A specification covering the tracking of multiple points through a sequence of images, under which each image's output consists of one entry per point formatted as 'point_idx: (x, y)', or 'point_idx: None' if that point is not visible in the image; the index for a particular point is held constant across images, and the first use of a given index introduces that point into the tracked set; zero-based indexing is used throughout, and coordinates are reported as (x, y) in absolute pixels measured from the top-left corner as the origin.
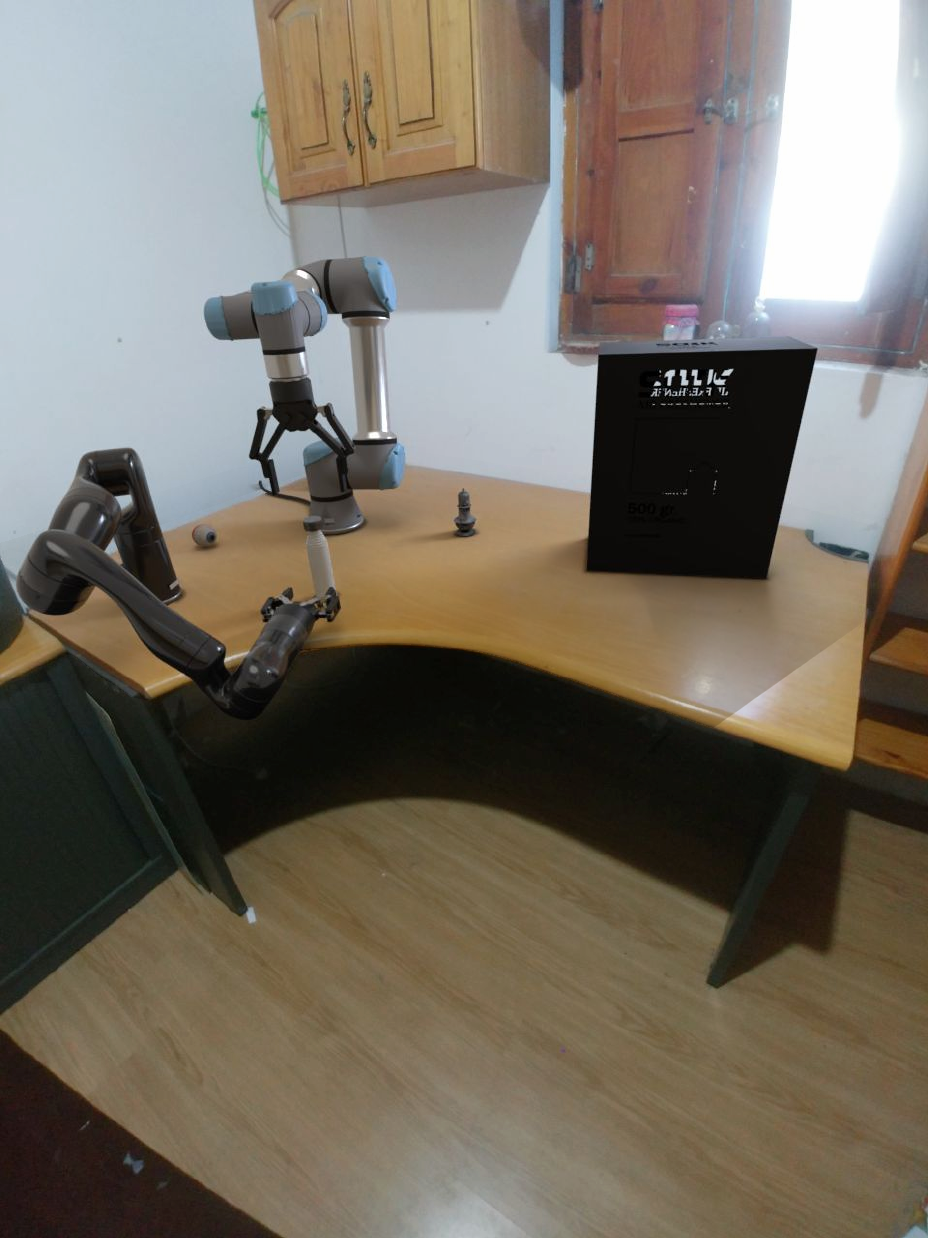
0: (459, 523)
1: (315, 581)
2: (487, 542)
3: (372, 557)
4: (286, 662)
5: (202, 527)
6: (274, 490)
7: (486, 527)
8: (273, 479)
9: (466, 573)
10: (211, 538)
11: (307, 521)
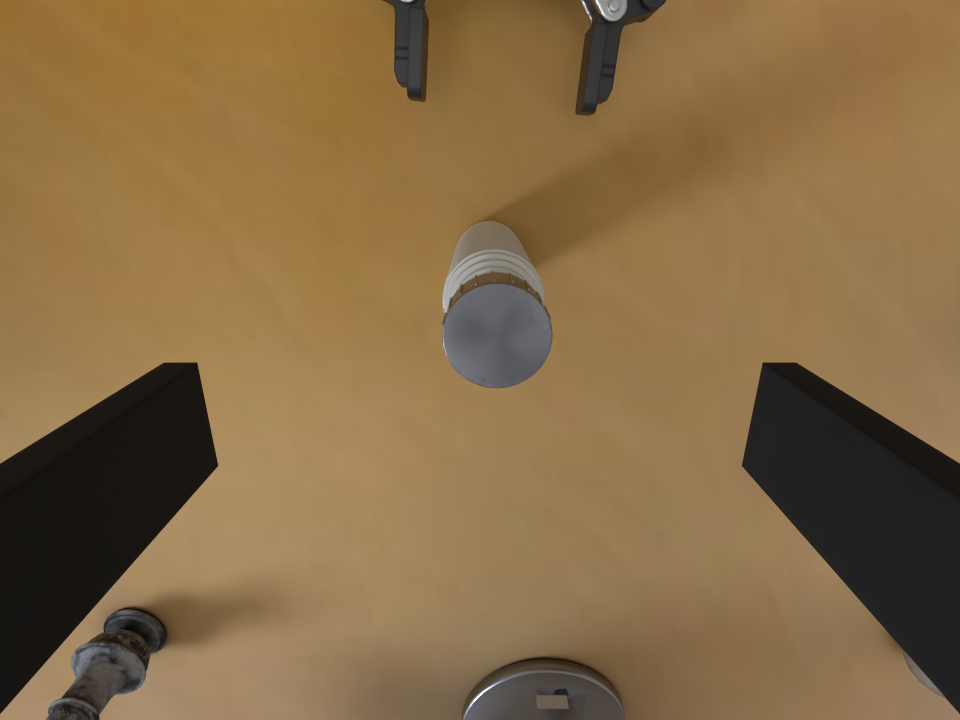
0: (119, 645)
1: (512, 235)
2: None
3: (391, 507)
4: None
5: None
6: (795, 380)
7: None
8: (852, 443)
9: (59, 370)
10: None
11: (517, 300)
